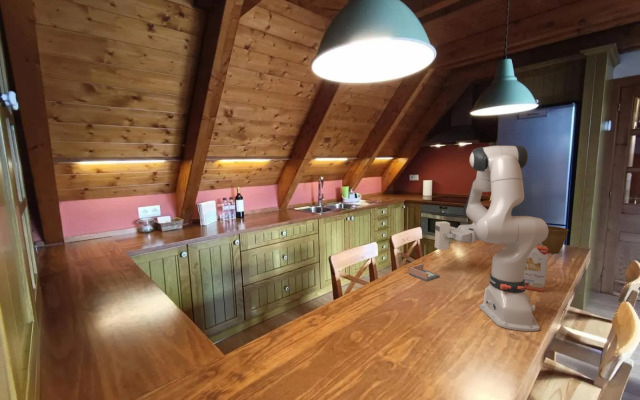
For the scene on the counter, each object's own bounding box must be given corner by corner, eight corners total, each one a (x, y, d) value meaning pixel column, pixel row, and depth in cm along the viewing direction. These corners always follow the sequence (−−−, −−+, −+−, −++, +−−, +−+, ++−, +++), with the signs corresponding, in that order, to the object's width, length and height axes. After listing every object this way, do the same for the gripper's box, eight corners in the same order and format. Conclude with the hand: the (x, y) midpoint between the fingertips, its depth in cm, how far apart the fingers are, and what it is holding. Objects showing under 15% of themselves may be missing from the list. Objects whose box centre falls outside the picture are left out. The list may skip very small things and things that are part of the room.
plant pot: (571, 254, 191) (574, 229, 189) (553, 256, 188) (555, 231, 186) (549, 247, 205) (551, 225, 203) (531, 249, 202) (533, 226, 200)
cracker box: (508, 287, 143) (512, 244, 141) (507, 282, 149) (510, 241, 146) (544, 292, 137) (549, 248, 134) (542, 287, 142) (546, 245, 139)
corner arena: (439, 277, 156) (439, 269, 156) (426, 281, 151) (426, 274, 150) (421, 270, 166) (422, 263, 165) (408, 274, 160) (409, 267, 160)
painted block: (448, 249, 157) (450, 223, 155) (438, 249, 156) (439, 223, 154) (444, 246, 161) (445, 221, 159) (434, 247, 160) (435, 221, 159)
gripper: (453, 223, 169) (430, 224, 167) (477, 231, 149) (452, 232, 147) (452, 233, 170) (430, 235, 168) (476, 243, 150) (451, 245, 148)
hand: (440, 234), depth 158 cm, fingers closed on painted block, 4 cm apart
